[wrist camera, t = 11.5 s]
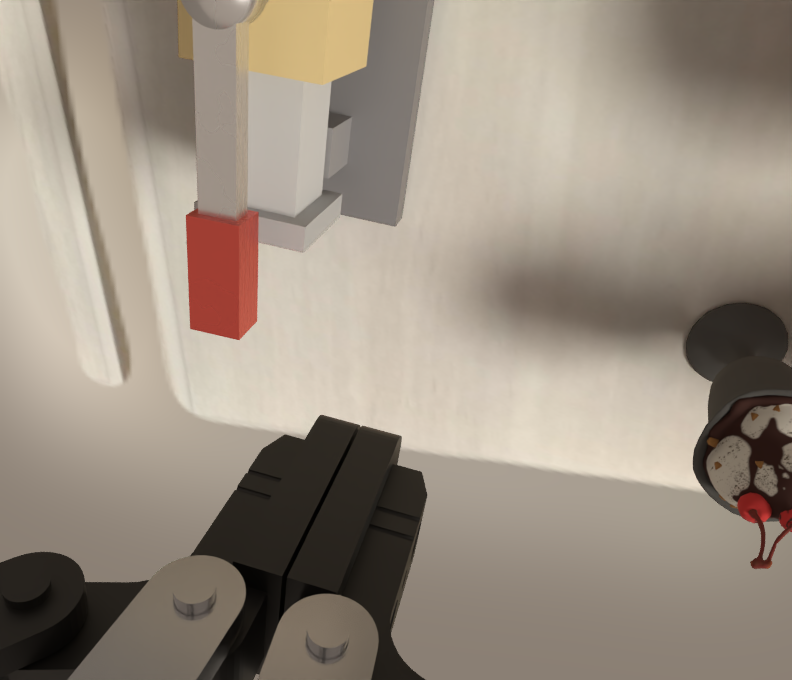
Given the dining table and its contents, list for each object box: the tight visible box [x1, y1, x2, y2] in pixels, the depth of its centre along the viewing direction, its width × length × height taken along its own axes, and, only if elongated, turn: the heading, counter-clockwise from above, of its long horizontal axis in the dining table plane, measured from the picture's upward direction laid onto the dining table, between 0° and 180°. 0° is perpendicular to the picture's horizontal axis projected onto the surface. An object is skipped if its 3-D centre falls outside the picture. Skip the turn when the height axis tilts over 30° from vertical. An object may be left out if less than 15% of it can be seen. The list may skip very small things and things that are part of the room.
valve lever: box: [181, 0, 267, 340], centre depth 26 cm, size 14×3×2 cm, turn 173°
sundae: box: [686, 303, 792, 569], centre depth 30 cm, size 7×7×15 cm
